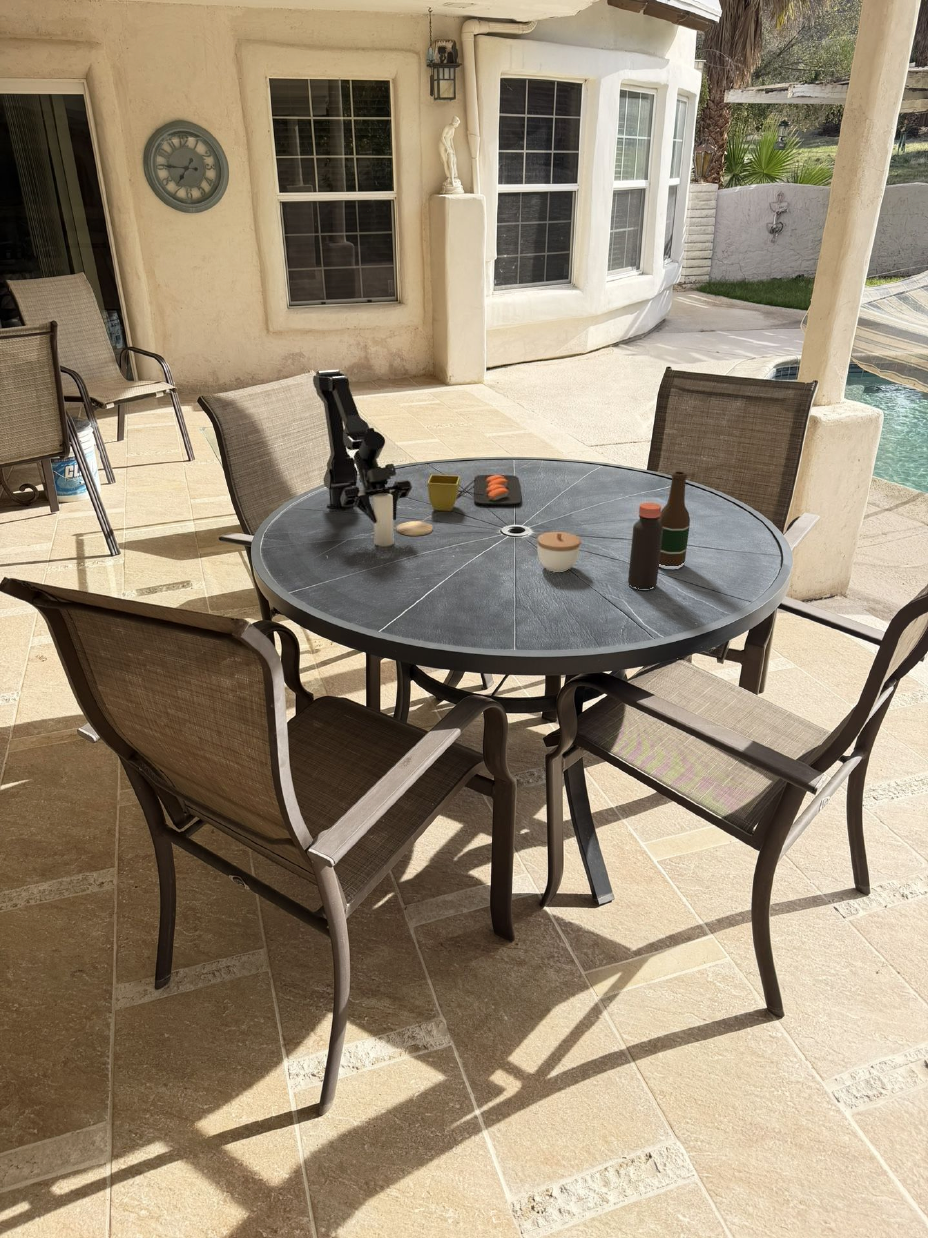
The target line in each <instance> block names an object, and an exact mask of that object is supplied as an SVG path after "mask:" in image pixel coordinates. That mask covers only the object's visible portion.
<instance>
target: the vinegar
mask: <svg viewBox="0 0 928 1238" xmlns="http://www.w3.org/2000/svg"><path fill="white" fill-rule="evenodd" d="M661 510H662V505H660V504H658V503H656V502H655V503H654V502H643V503H640V504H639V509H638V517H639V519H638V520H637V521H636V522H635V523H634V524H633V527H632V536H631V546H630V547H631V549H630V556H629V568H628V578H627V584H628V583H629V585H631V586H632V587H636V588H637V589H638V588H639V589H650V588H652V587H655V586H656V584H657V585H658V578H659V577H658V575H659V569H660V568H659V560H660V551H661V543H662V534H663V527H662V525H661V524H660V522H659V521H658V519H659V518H660V514H661ZM629 585H628V586H629ZM656 587H657V586H656ZM656 587H655V588H656Z"/></svg>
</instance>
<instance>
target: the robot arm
mask: <svg viewBox="0 0 928 1238" xmlns="http://www.w3.org/2000/svg"><path fill="white" fill-rule="evenodd" d="M348 378H349V377H348V376H347V374H346V373H342V372H340V369H330V370H329V369H328V370H317V371H316V373H315V375H313V377H312V383H313V387H314V388H315V392H316V395H317V396H318V397H319V399H320V400H321V402H323V408H324V414H325V421H326V428H327V435H328V443H329V449H330V455H329V458H328V460H327V461H326V471H325V474H324V477H323V485H324V487H326V489H328V493H329V503H328V504H326V507H327V508H330V509H335V510H340V511H346V510H348V509H349V507H350V508H352V507H354V508H358V509H359V510H360V511H361V512H363V514H365V515H366V517H368V518H369V520H370V521H371V522H372V523H373V524H374V523H376V522H377V521H376V517H375V514H374V512H373V506H372V504H371V501H370V498H373V495H375V494H379V493H387V494H391V495H392V496H393V521H396V520H397V511H398V510H397V509H398V507H397V504H398V501H399V500H400V499H406V498H407V497H408V496H409V494H410V493H411V490H412V489H413V486H412V482H411V481H410V480H408V479H401V480H395V481H394V484H393V485H391V486H386V485H388V483H389V480H391V478H392V477H394V476H396V475H397V472H396V467H395V465H394V463H387V464H386V465H384V467H382V466H379V463H378V458H380V455H381V454H382V451H383V449H384V446H385V445H386V439H385V437H384V436H383V435H382V434H381V433H380V432H379V431H375V429H374V427H370V426H369V424H368V422H367V421H366V420H363V418H361V415H360V413H359V410H358V409H357V405H356V402H355V399H354V397H353V394H352V391H351V388H350V380H349V379H348ZM347 450H350V451H355V450H356V451H355V452H354V455H353V457H352V456H351V455H350V454H349V453H348V451H347ZM358 476H359V478H358ZM358 481H359V483H361V485H362V488H363V489H360V487H359V486H358V485H357V482H358ZM353 505H354V506H353Z"/></svg>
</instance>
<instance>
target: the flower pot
mask: <svg viewBox="0 0 928 1238" xmlns="http://www.w3.org/2000/svg"><path fill="white" fill-rule="evenodd" d="M460 480H461V476H460V475H449V474H448V475H443V474H430V477H429V478H428V481H427V485H428V486H427V490H428V499H429V500H428V501H429V502H430V504H431V507H432V509H433V510H435V511H445V512H451V511H452V510H453V509H454V506H455V504H456V501H457V499H458V498H457V495H458V494H459V492H458V490H460V482H461V481H460ZM456 498H457V499H456Z"/></svg>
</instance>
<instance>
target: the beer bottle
mask: <svg viewBox="0 0 928 1238" xmlns="http://www.w3.org/2000/svg"><path fill="white" fill-rule="evenodd" d="M670 477H671V479H672V480H671V484H670V489H669V495H668V500H667V502H666V504H665V505H664V506H663V508H661V514H660V518H659V519H658V521H659V522H660V524H661V525H662V527H663V534H662V543H661V551H660V560H659V564H661V565H665V566H679V565H681V564H682V563H684V562H686V558H687V557H686V556H687V551H688V550H687V549H688V548H687V547H688V541H689V540H688V539H689V534H690V526H691V525H690V524H691V518H690V513H689V510H688V509H687V507H686V502H685V500H686V499H685V495H686V494H685V493H686V482H687V481H686V480H687V479H688V475H687V473H686V472H685V471H674V472H672V474H671V476H670ZM684 564H685V563H684Z"/></svg>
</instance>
